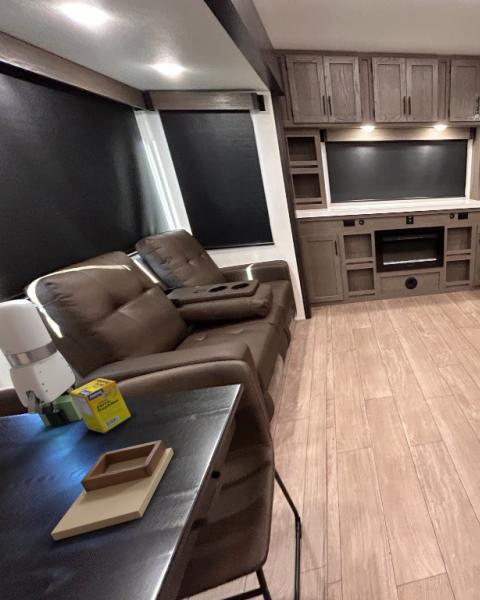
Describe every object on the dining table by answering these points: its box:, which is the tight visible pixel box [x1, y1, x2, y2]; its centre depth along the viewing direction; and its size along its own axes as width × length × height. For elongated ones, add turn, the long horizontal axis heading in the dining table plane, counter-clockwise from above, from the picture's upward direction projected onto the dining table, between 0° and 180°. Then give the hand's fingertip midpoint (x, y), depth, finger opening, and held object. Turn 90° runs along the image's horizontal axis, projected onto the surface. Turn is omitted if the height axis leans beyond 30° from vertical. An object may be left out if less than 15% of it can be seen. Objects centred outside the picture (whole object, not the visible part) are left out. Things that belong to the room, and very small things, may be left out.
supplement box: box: [70, 377, 132, 435], centre depth 74 cm, size 6×6×11 cm
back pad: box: [38, 395, 83, 427], centre depth 78 cm, size 4×7×6 cm, turn 105°
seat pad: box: [50, 439, 175, 541], centre depth 57 cm, size 14×12×4 cm
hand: (67, 417), depth 79 cm, fingers open, 4 cm apart
